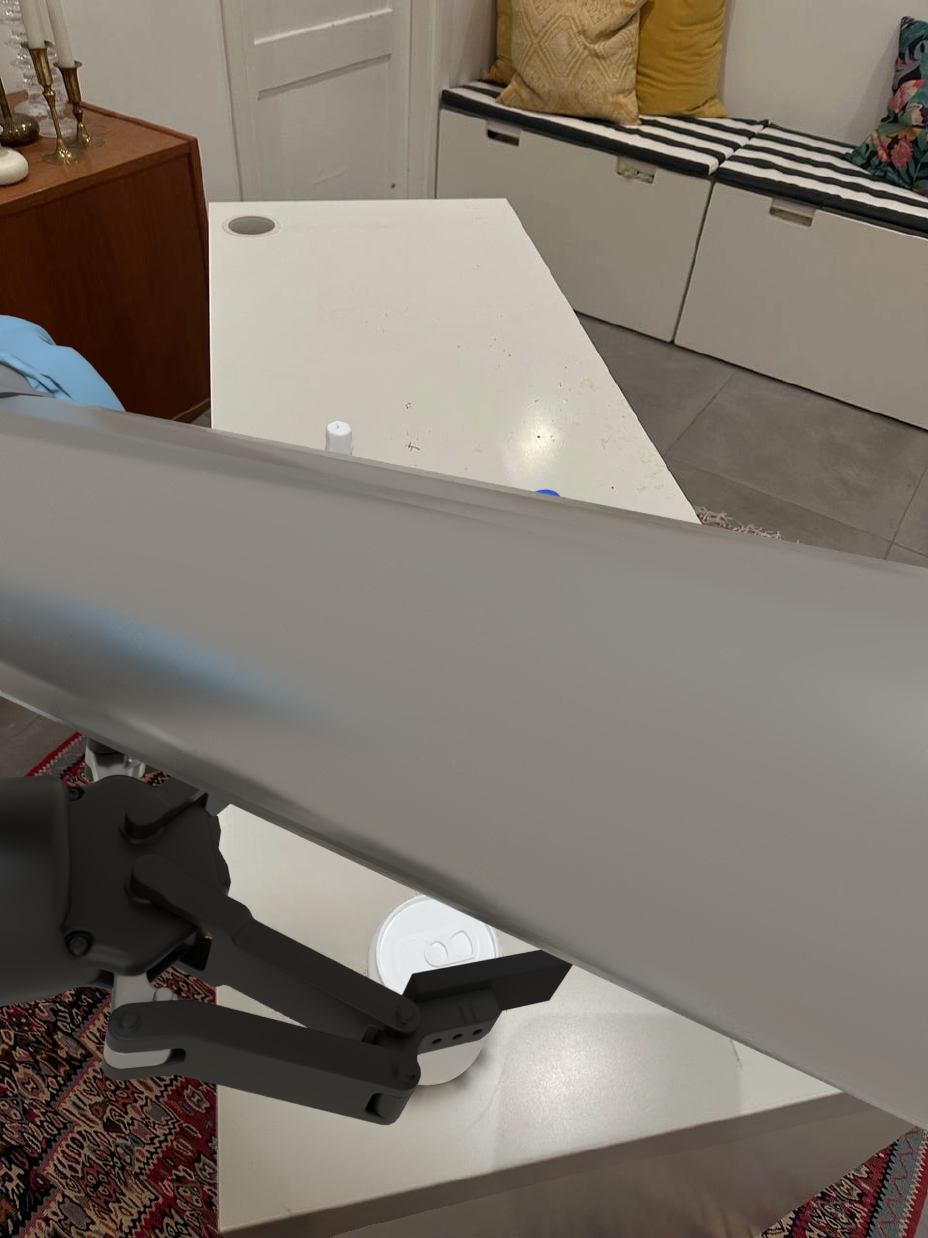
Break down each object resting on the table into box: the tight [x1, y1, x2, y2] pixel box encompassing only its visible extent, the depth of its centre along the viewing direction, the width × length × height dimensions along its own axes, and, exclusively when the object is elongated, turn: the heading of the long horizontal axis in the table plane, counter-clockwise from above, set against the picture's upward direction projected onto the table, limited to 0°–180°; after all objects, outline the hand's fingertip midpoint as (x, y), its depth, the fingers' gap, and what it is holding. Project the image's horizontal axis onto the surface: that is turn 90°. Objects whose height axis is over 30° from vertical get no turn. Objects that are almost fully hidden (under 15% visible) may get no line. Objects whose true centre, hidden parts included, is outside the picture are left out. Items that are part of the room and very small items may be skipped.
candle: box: [324, 420, 354, 456], centre depth 90 cm, size 5×5×12 cm
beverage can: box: [366, 894, 504, 1086], centre depth 54 cm, size 8×8×12 cm
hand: (493, 834), depth 39 cm, fingers open, 13 cm apart
